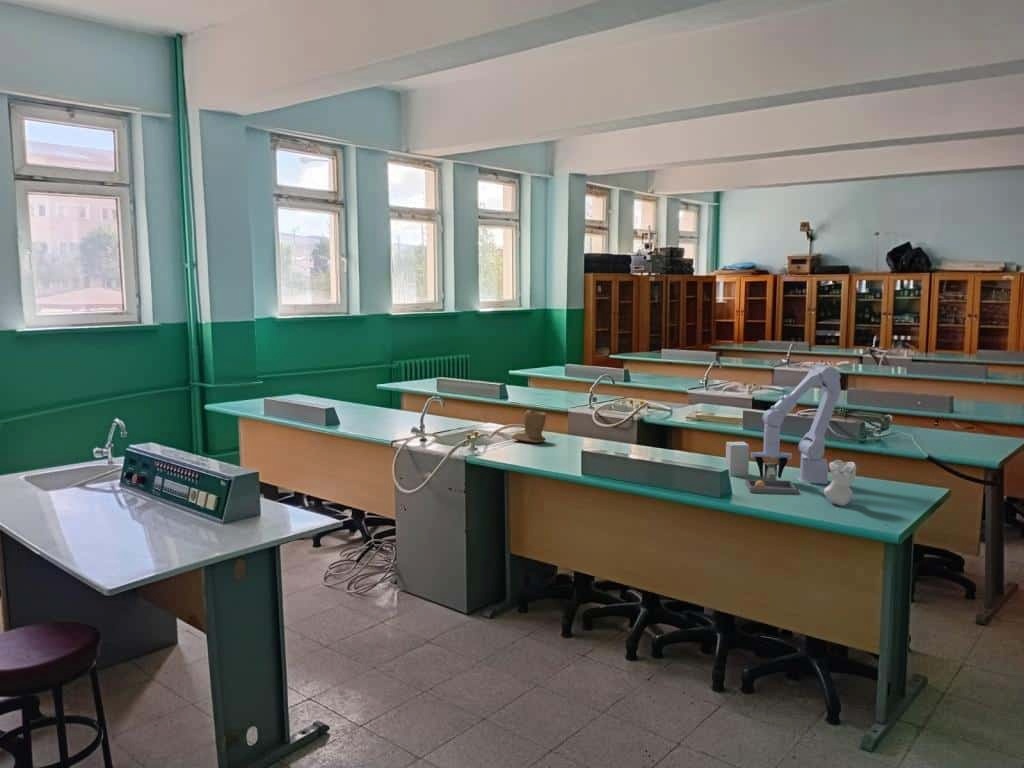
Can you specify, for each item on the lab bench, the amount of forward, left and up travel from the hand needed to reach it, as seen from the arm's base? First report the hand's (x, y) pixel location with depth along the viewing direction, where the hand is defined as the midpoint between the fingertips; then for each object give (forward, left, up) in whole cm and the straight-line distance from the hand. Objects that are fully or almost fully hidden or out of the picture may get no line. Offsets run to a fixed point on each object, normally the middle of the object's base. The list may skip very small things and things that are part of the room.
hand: (770, 477), depth 297 cm
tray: (+2, +12, -2) cm, 12 cm away
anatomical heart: (-18, +29, -2) cm, 34 cm away
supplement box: (+11, -10, -2) cm, 15 cm away
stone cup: (+99, -66, -2) cm, 119 cm away
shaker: (0, 0, -2) cm, 2 cm away
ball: (+6, +14, -1) cm, 15 cm away
